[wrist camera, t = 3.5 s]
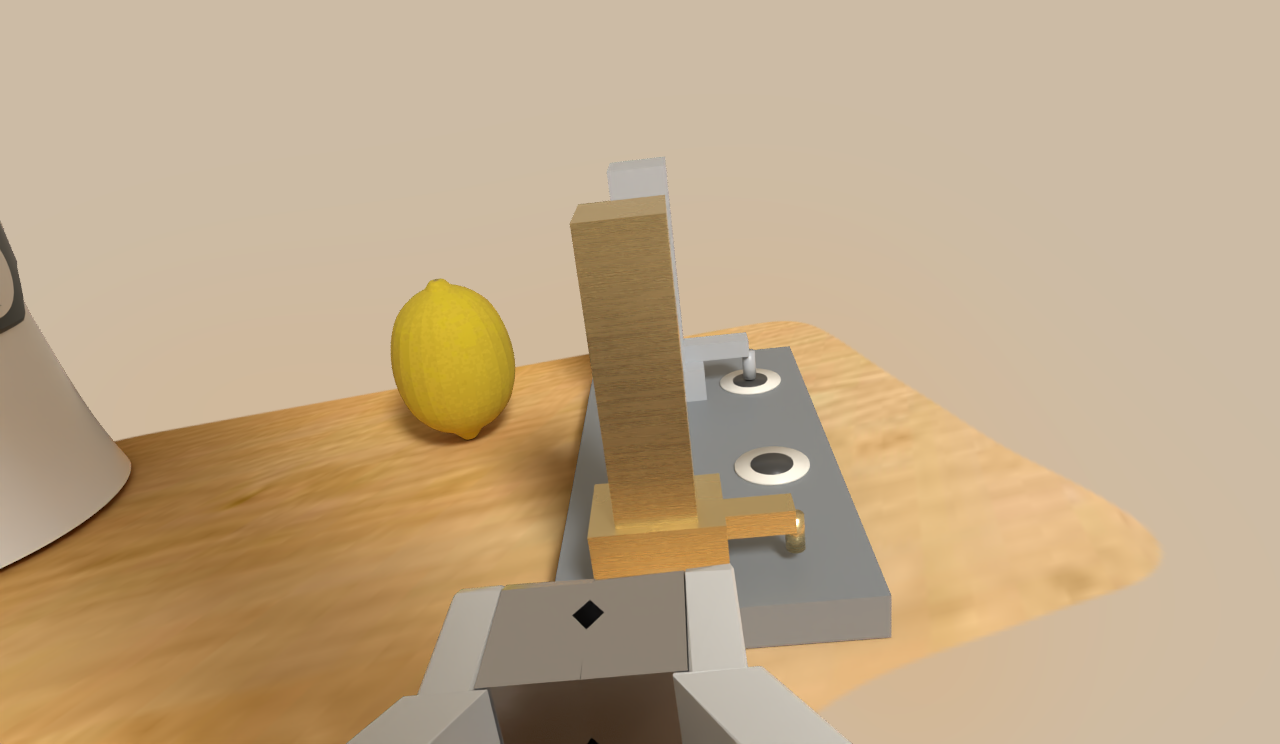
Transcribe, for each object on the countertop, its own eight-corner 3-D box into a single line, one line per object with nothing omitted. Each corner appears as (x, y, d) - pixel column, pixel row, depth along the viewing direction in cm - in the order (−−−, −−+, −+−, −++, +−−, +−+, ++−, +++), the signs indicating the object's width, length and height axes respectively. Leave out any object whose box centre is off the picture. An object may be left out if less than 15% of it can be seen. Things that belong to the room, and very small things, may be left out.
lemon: (427, 419, 43) (391, 270, 40) (533, 408, 43) (506, 256, 40) (399, 472, 38) (356, 305, 35) (520, 459, 38) (487, 290, 34)
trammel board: (555, 663, 25) (480, 280, 20) (598, 392, 43) (564, 159, 39) (891, 637, 24) (891, 237, 20) (790, 373, 43) (778, 134, 38)
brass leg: (596, 594, 25) (536, 230, 20) (602, 537, 27) (550, 205, 23) (813, 576, 24) (797, 201, 20) (797, 520, 27) (781, 179, 23)
